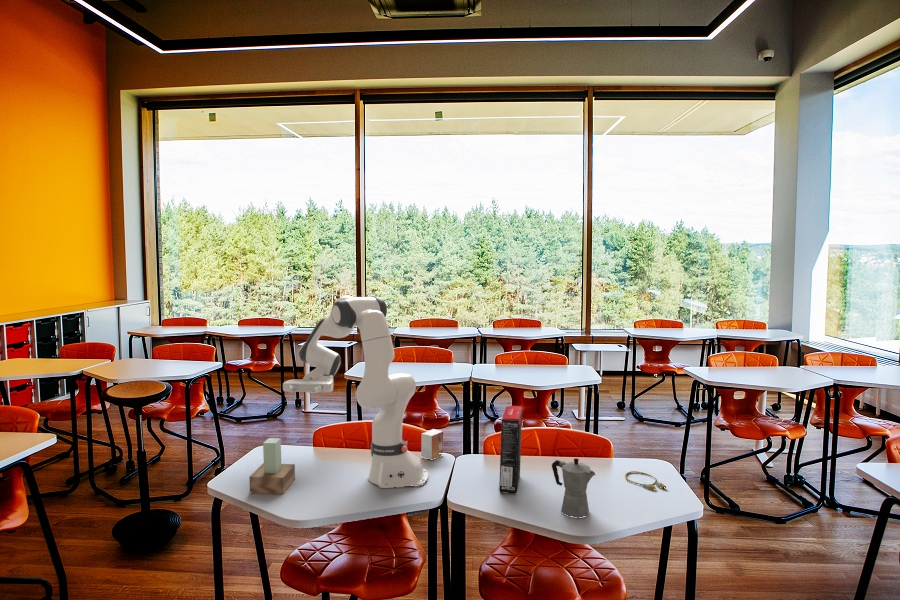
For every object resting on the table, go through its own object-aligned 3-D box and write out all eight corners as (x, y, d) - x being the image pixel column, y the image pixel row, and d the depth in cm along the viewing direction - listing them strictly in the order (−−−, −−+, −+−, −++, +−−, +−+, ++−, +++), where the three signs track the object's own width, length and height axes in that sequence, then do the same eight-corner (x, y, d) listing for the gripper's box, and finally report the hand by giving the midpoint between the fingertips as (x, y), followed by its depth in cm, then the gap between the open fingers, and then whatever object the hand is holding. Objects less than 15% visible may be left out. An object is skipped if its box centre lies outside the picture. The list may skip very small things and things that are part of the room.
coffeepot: (600, 512, 175) (601, 459, 174) (587, 523, 168) (588, 468, 167) (558, 498, 185) (559, 448, 184) (544, 508, 178) (545, 455, 177)
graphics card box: (503, 474, 206) (504, 404, 203) (521, 475, 205) (522, 405, 202) (498, 494, 189) (499, 418, 187) (518, 495, 188) (519, 419, 185)
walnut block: (295, 479, 200) (294, 464, 200) (283, 494, 188) (282, 477, 188) (263, 479, 201) (263, 463, 200) (249, 493, 189) (249, 476, 188)
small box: (431, 461, 219) (431, 436, 218) (421, 458, 222) (420, 433, 221) (443, 455, 225) (443, 431, 224) (433, 452, 228) (433, 428, 227)
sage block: (281, 467, 196) (280, 438, 196) (276, 473, 192) (275, 443, 191) (269, 467, 197) (268, 438, 196) (263, 472, 192) (263, 442, 191)
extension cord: (632, 491, 192) (633, 486, 192) (620, 473, 208) (621, 468, 208) (667, 492, 192) (667, 487, 192) (652, 474, 207) (653, 469, 207)
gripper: (289, 374, 229) (276, 382, 215) (336, 375, 228) (327, 383, 214) (289, 389, 229) (277, 398, 215) (336, 390, 228) (327, 398, 214)
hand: (302, 390), depth 215 cm, fingers open, 8 cm apart
